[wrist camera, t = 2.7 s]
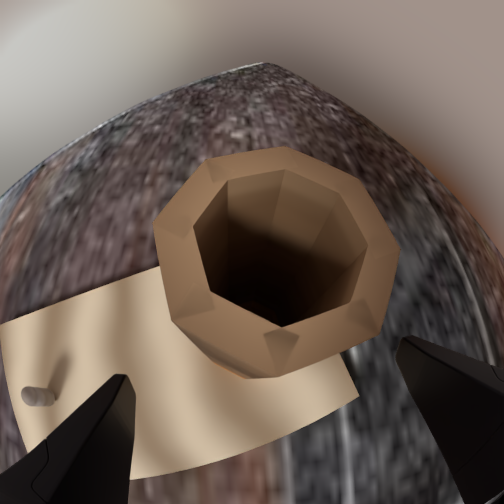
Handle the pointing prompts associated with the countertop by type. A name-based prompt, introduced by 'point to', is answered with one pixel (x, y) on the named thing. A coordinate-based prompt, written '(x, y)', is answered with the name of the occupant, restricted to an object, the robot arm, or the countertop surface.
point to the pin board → (154, 379)
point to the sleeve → (274, 261)
